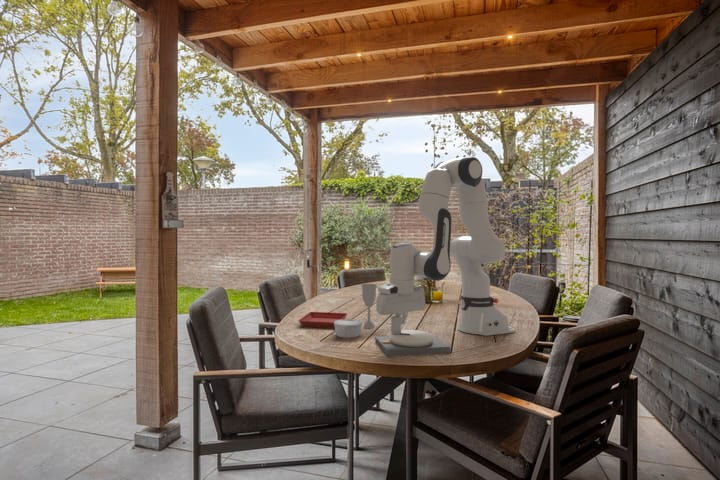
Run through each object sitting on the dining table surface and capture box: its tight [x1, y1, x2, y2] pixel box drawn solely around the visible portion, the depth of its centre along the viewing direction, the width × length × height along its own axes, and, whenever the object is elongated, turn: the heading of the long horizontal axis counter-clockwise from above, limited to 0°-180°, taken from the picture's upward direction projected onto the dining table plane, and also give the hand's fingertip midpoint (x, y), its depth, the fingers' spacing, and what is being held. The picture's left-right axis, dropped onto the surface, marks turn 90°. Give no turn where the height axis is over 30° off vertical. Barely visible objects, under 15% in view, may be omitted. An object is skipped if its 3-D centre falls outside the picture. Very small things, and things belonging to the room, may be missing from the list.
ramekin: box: [334, 318, 363, 339], centre depth 162 cm, size 11×11×5 cm
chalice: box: [360, 283, 378, 329], centre depth 175 cm, size 7×7×18 cm
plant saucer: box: [298, 311, 348, 329], centre depth 182 cm, size 18×18×3 cm
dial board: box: [374, 334, 451, 357], centre depth 146 cm, size 22×17×3 cm
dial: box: [389, 315, 434, 347], centre depth 145 cm, size 15×15×8 cm
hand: (401, 324), depth 150 cm, fingers closed
